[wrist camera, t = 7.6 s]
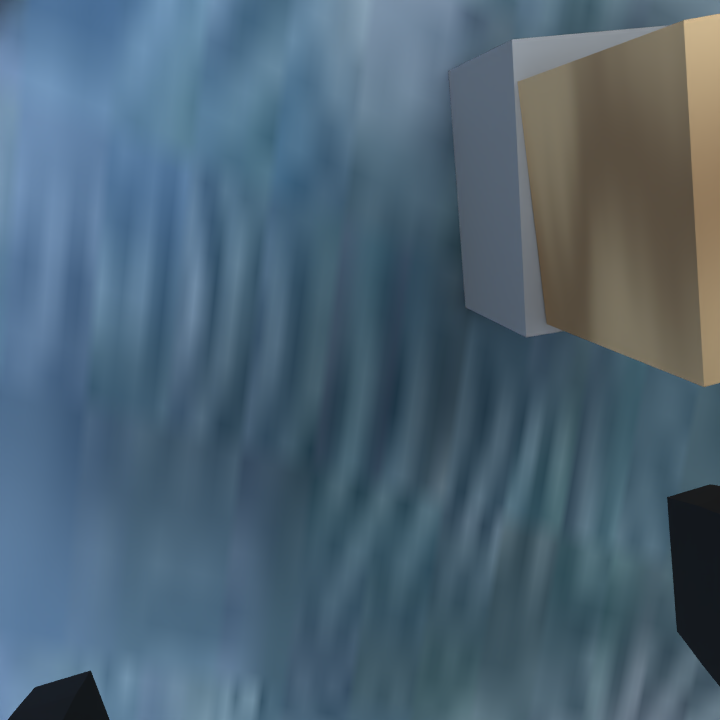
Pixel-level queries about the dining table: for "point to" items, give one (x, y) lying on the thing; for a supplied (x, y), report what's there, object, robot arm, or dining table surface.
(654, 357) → the wooden cube
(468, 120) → the grey block
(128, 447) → the dining table surface
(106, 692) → the dining table surface
